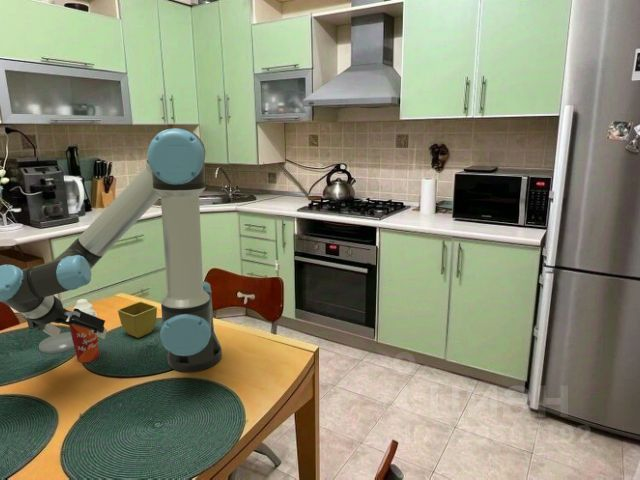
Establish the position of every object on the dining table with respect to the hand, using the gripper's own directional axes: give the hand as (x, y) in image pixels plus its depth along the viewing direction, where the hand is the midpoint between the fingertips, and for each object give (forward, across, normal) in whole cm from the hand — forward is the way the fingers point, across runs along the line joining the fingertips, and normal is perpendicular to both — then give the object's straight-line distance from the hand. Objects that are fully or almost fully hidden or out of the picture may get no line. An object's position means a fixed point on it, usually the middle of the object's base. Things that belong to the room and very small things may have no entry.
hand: (81, 334), depth 127 cm
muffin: (+26, -16, +15) cm, 34 cm away
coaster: (+11, -12, +1) cm, 16 cm away
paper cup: (+6, +1, -5) cm, 8 cm away
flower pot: (+17, +10, +6) cm, 20 cm away
